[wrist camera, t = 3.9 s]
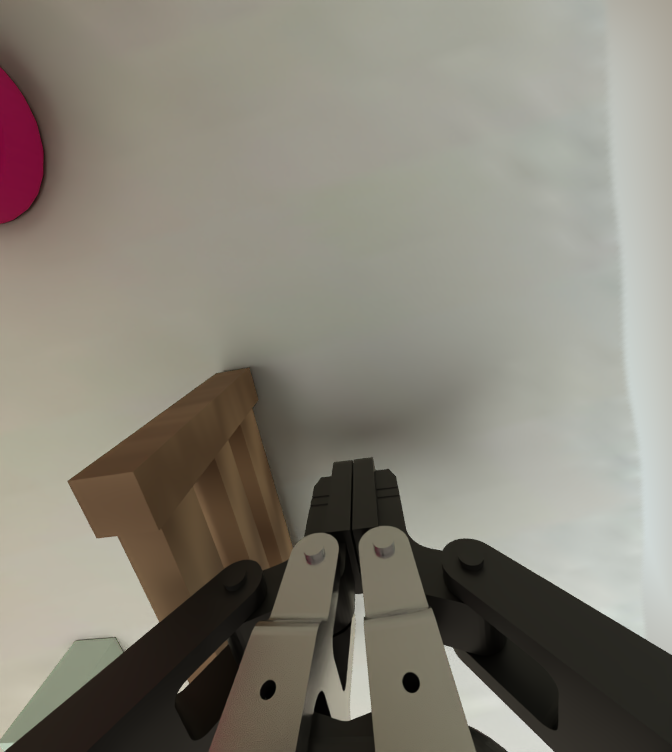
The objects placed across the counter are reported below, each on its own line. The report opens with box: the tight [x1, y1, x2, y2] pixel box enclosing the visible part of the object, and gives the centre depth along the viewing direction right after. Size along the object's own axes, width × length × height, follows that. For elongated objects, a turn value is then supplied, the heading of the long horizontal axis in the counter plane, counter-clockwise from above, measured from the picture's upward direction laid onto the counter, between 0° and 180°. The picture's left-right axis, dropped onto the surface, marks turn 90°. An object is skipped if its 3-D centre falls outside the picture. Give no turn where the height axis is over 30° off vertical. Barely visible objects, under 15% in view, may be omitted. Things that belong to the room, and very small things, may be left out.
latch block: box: [0, 638, 123, 751], centre depth 20 cm, size 6×3×5 cm, turn 11°
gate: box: [68, 368, 293, 684], centre depth 13 cm, size 14×2×8 cm, turn 11°
